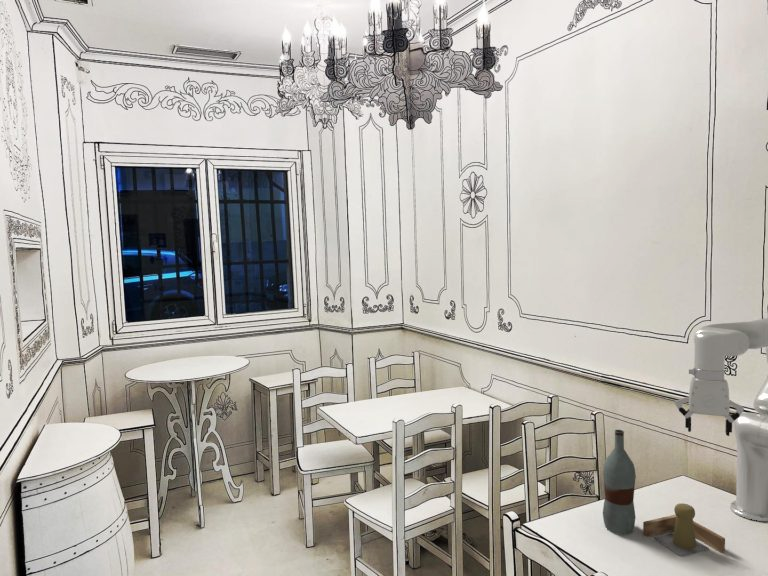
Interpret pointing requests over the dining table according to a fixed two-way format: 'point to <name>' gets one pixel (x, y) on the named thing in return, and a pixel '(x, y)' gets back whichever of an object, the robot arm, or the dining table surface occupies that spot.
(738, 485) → the robot arm
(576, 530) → the dining table surface
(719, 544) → the corner arena
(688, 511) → the cork
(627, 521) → the bottle
